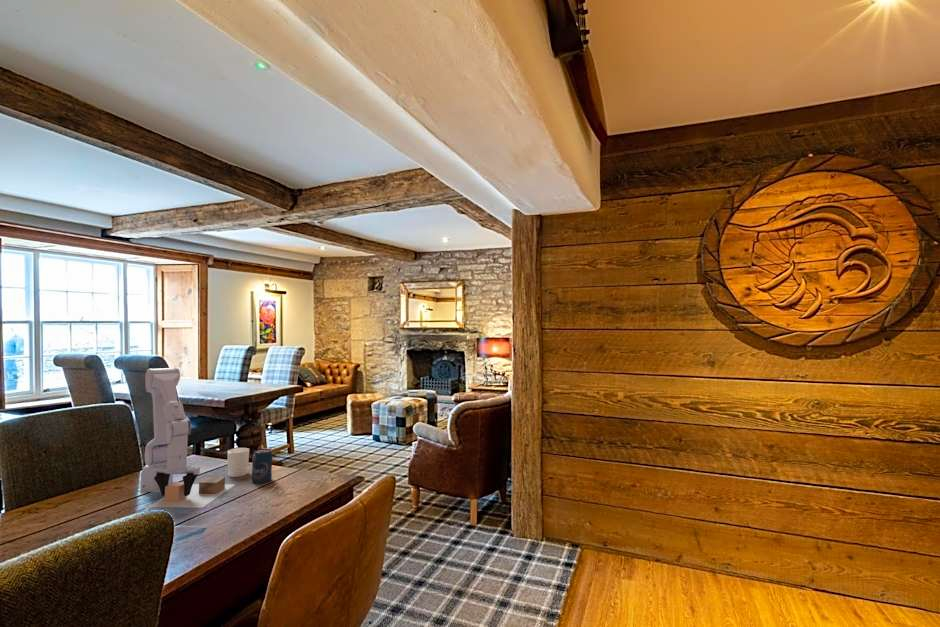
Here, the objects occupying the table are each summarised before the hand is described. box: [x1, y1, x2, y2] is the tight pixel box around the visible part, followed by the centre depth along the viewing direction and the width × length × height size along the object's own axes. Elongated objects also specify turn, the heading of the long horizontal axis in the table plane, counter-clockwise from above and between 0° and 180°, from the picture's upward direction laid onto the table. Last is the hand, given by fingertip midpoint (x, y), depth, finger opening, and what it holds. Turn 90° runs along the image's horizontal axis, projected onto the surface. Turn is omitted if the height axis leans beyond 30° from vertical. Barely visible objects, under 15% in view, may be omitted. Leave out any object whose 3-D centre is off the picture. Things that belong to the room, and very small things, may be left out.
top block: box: [164, 481, 186, 502], centre depth 154 cm, size 4×4×5 cm
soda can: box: [251, 448, 273, 485], centre depth 174 cm, size 7×7×12 cm
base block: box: [198, 476, 226, 494], centre depth 162 cm, size 6×6×4 cm
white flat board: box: [147, 483, 237, 509], centre depth 158 cm, size 18×22×1 cm
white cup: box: [226, 447, 250, 478], centre depth 181 cm, size 8×8×10 cm
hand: (175, 495), depth 154 cm, fingers open, 7 cm apart
